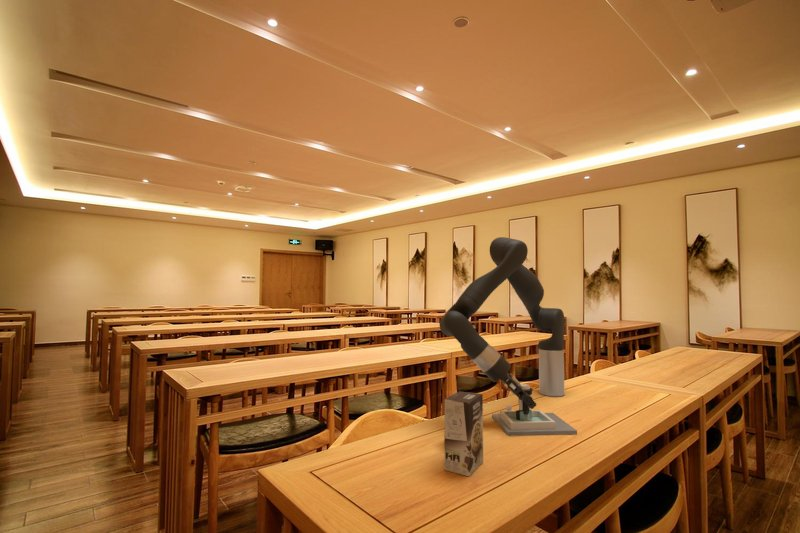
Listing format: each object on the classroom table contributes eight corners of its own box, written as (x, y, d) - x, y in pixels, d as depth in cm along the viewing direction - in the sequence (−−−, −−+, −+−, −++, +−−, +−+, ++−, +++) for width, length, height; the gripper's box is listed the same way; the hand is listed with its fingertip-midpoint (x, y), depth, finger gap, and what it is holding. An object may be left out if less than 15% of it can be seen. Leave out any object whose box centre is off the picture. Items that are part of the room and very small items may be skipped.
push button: (526, 415, 123) (525, 382, 124) (540, 419, 118) (539, 385, 119) (511, 418, 119) (510, 384, 120) (525, 423, 115) (524, 387, 116)
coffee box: (470, 477, 87) (469, 402, 88) (443, 470, 90) (443, 398, 91) (484, 461, 95) (483, 393, 96) (459, 455, 98) (458, 389, 99)
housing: (491, 416, 127) (491, 404, 127) (552, 415, 128) (552, 403, 128) (507, 435, 111) (507, 421, 111) (577, 434, 112) (576, 419, 112)
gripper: (502, 358, 114) (547, 402, 111) (497, 350, 128) (536, 389, 126) (484, 376, 114) (527, 420, 112) (480, 366, 128) (519, 405, 126)
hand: (532, 403), depth 119 cm, fingers closed on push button, 5 cm apart
